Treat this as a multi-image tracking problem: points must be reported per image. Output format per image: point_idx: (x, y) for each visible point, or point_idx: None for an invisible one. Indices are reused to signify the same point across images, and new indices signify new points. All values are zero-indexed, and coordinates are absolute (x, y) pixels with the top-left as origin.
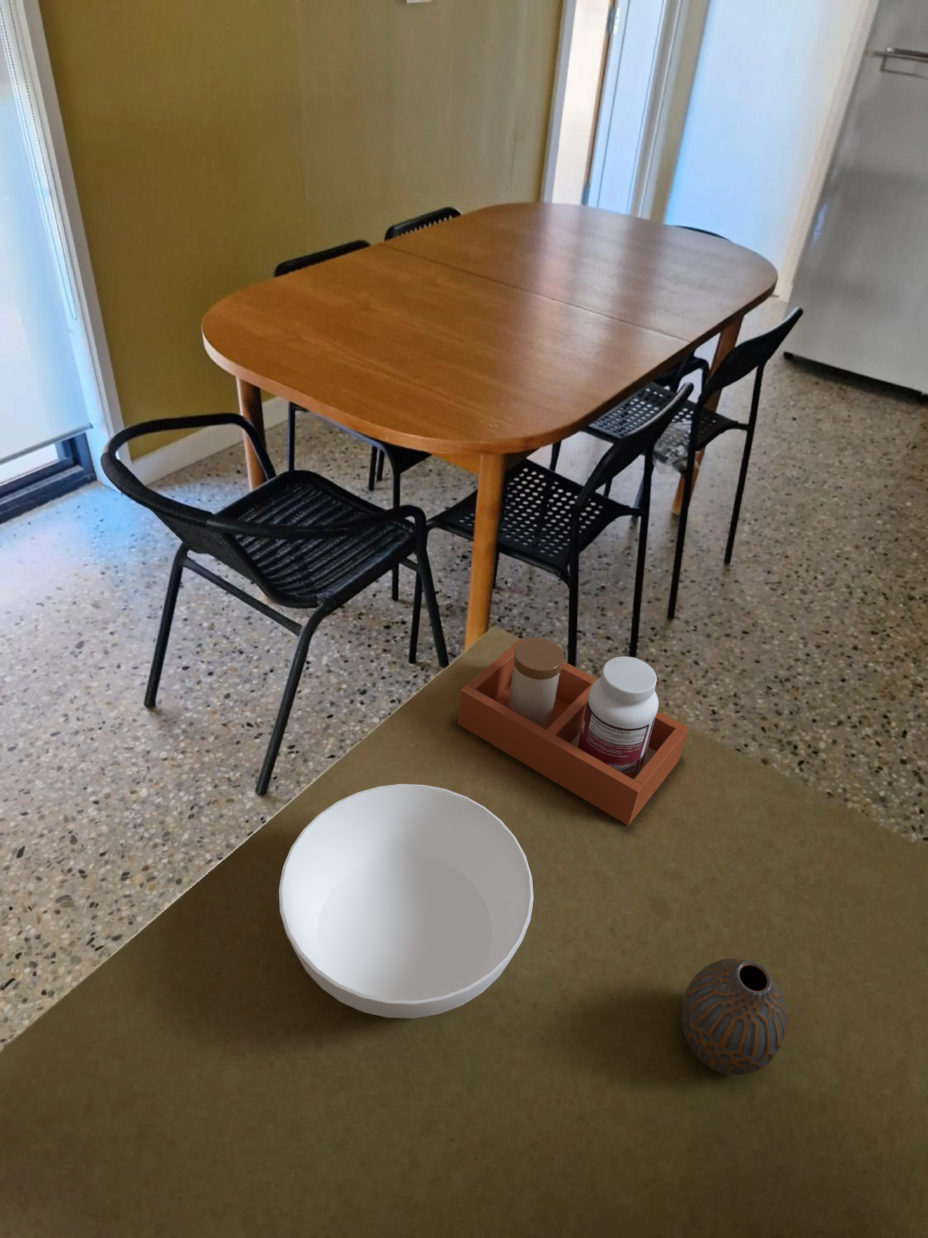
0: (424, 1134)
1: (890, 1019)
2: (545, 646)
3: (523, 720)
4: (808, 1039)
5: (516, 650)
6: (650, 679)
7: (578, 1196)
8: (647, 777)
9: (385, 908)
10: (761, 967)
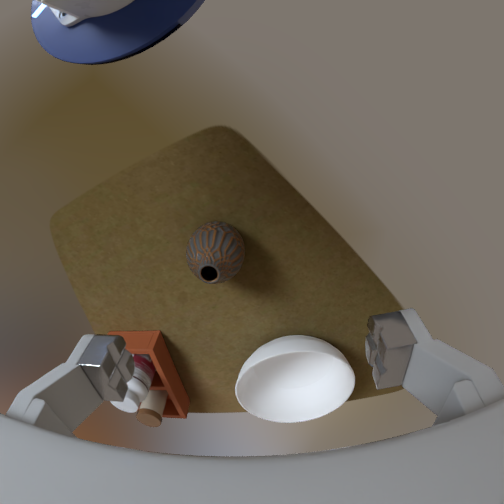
0: (355, 304)
1: (134, 181)
2: (142, 420)
3: (172, 398)
4: (180, 207)
5: (157, 426)
6: None
7: (334, 247)
8: (141, 350)
9: (289, 371)
10: (199, 273)
